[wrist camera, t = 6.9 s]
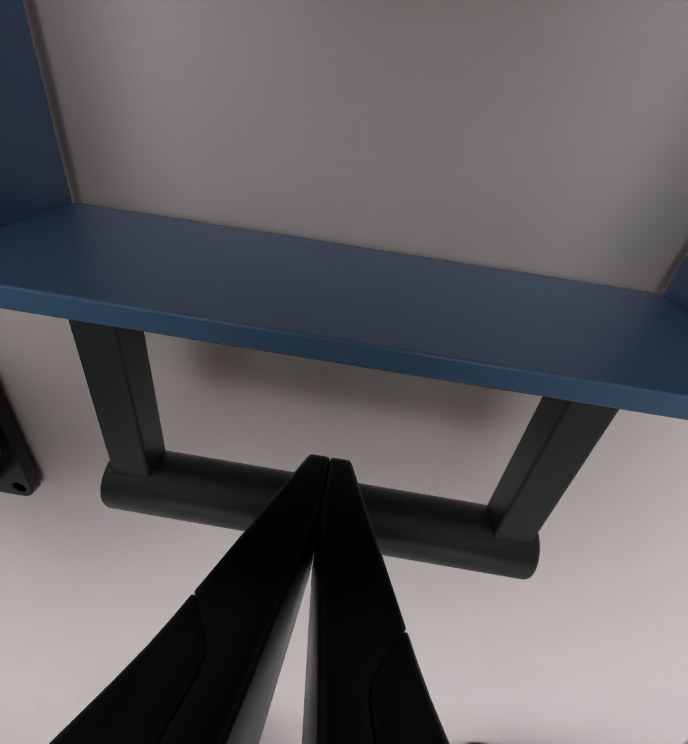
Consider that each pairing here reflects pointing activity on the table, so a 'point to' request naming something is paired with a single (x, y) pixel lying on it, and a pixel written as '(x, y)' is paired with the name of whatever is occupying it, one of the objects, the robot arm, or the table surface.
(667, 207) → the table surface
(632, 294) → the drawer
